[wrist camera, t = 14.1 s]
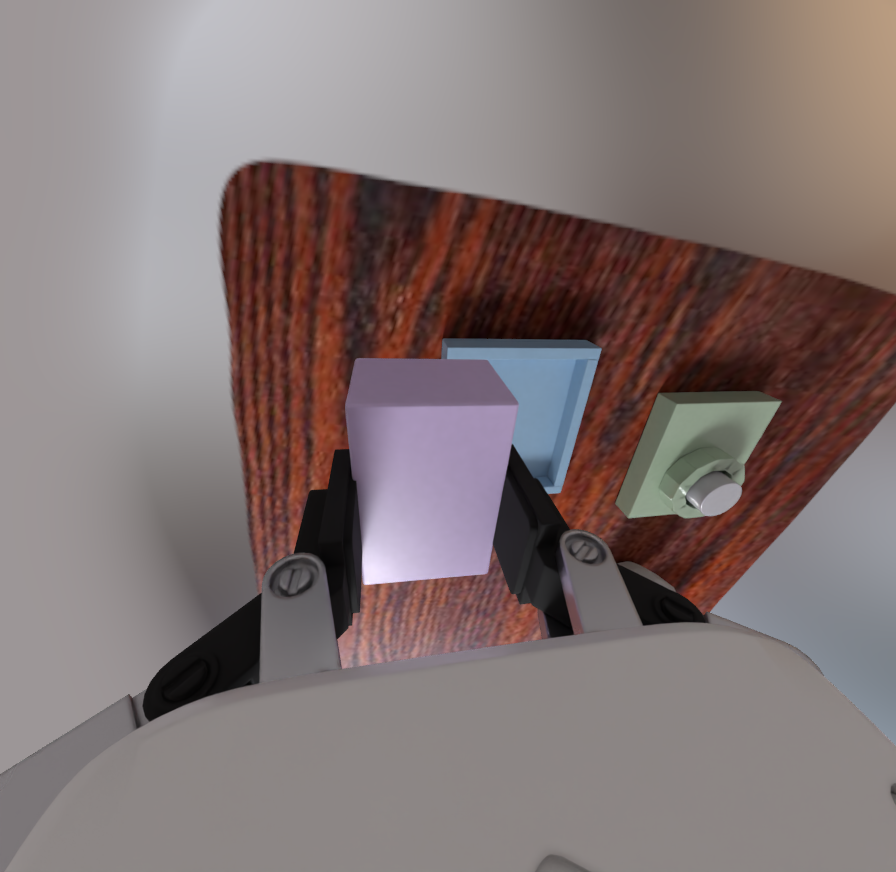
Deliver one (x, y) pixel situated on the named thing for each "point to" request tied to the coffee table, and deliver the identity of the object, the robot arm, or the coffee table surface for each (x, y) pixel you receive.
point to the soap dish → (539, 395)
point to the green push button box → (692, 447)
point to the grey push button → (714, 493)
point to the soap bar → (428, 464)
